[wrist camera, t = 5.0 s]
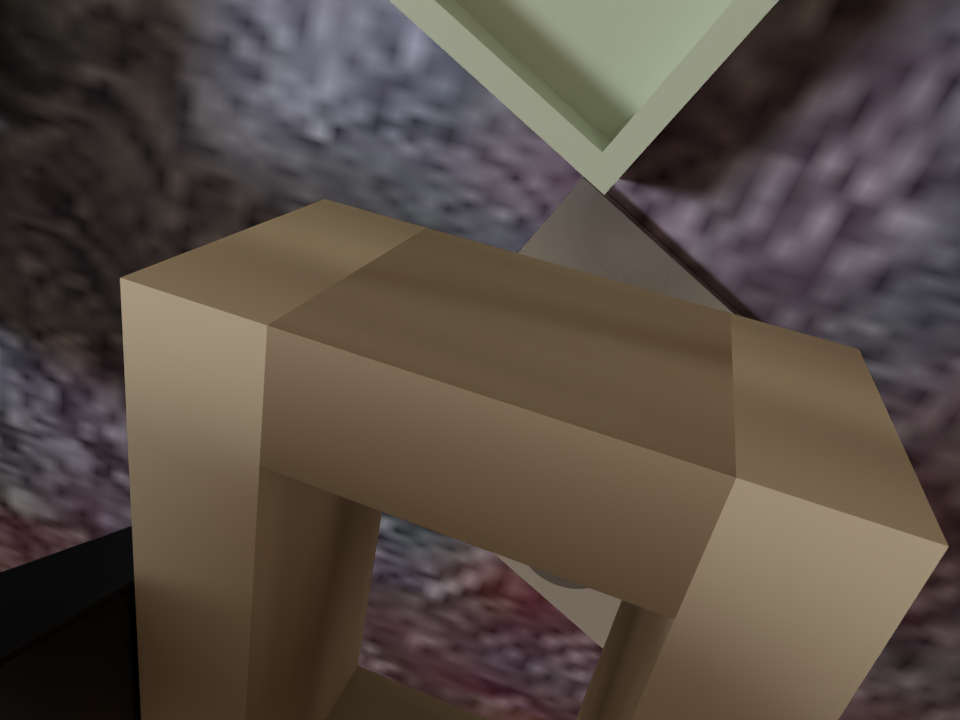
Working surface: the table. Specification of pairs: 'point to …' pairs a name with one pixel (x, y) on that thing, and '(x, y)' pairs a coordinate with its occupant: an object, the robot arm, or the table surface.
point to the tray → (590, 64)
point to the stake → (627, 259)
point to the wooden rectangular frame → (498, 474)
